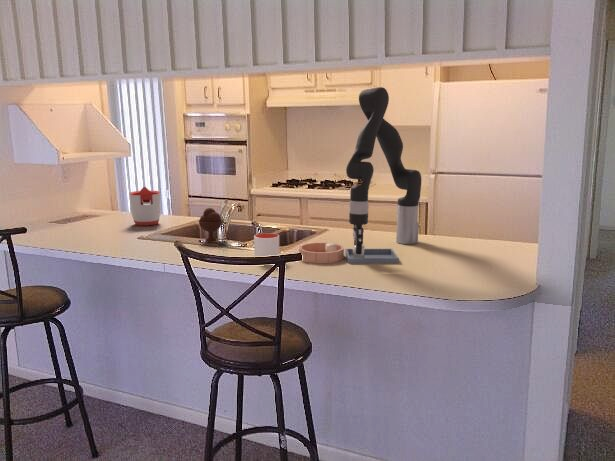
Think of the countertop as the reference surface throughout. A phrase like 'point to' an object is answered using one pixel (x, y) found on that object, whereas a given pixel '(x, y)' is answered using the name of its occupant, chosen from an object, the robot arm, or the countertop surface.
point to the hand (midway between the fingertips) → (357, 251)
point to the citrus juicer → (145, 207)
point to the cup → (266, 244)
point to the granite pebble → (358, 254)
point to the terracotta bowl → (320, 253)
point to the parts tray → (373, 256)
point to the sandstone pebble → (330, 247)
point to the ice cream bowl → (210, 223)
